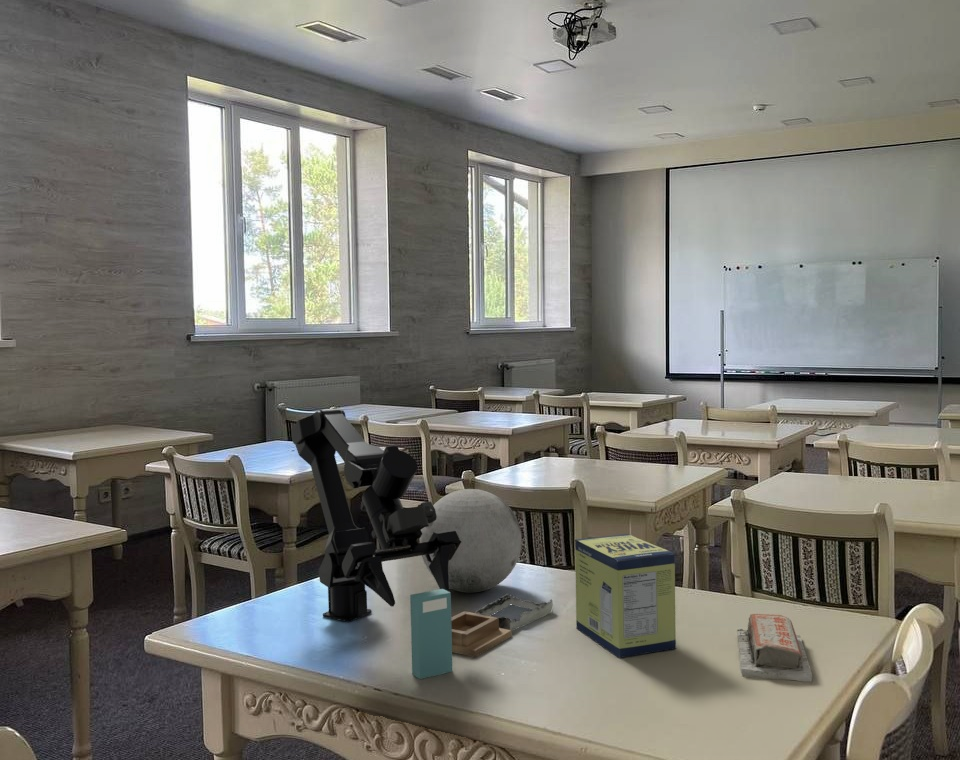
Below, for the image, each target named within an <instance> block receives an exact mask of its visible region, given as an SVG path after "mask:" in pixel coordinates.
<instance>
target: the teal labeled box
mask: <svg viewBox="0 0 960 760" xmlns="http://www.w3.org/2000/svg"><path fill="white" fill-rule="evenodd" d="M451 594H452V592H450V591H449V592H448V591H446V590H444V589H440V588H438V589H433V590H428V591H424V592H418V593H414V594H410V595H409V597H410V637H411V638H410V640H411V641H410V642H411V674H412V675H413V676H414V677H416V678H417V679H418V680H422V679H423V678H424V679H427V678H426V677H428V678H432V677H435V676H436V677H437V676H439V675H443V674H447V673H451V672H453V652H452V626H451V617H452V595H451ZM431 676H432V677H431Z"/></svg>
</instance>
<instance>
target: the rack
mask: <svg viewBox="0 0 960 760" xmlns="http://www.w3.org/2000/svg"><path fill="white" fill-rule="evenodd" d="M492 616H493V615H491V616H486V615H481V614H476V613H475V612H470V611H462V612H460V613H458V614H455V615H454V616H451V626H452V653H455V654H460V655H465V656H469V657H472V658H473V657H474V658H476V657H478V656H479V655H481V654H483V653H485V652H486V651H488V650H490V649H491V648H493V646H494V647H495V646H497V645H499V644H501V643H502V642H504V641H506V640H508V639H509V638H511V637H512V632H513V631H511V630H507V629H502V628H499V618H497V617H498V616H493V617H492ZM500 642H501V643H500ZM484 651H485V652H484Z"/></svg>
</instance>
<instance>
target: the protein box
mask: <svg viewBox="0 0 960 760" xmlns="http://www.w3.org/2000/svg"><path fill="white" fill-rule="evenodd" d="M574 542H575V544H574V548H575V549H574V551H575V552H574V553H575V555H574V556H575V612H576V613H575V615H576V616H575V617H576V619H575V620H576V629H577V630H578V631H580V632H581V633H583V635H586V636H587V637H588V638H590V639H592V641H594V642H595V643H597V644H598V645H599V646H601V647H603V648H604V649H606V650H607V651H608V652H610V653H611V654H613V655H614V656H616V657H617V658H619V657H620V658H625V657H631V656H638V655H645V654H651V653H656V652H664V651H669V649H670V650H674V649H677V639H676V633H677V632H676V571H675V570H676V566H675V565H676V564H675V561H676V559H675V556H676V555H675V553H674V552H673V551H670V550H668V549H665V548H662V547H660V546H658V545H655V544H652V543H651V542H648V541H645V540H643V539H640V538H638V537H636V536H634V535H631V534H629V533H624V534H614V535H606V536H597V537H596V536H595V537H588V538H576V539H574ZM663 650H664V651H663Z"/></svg>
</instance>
